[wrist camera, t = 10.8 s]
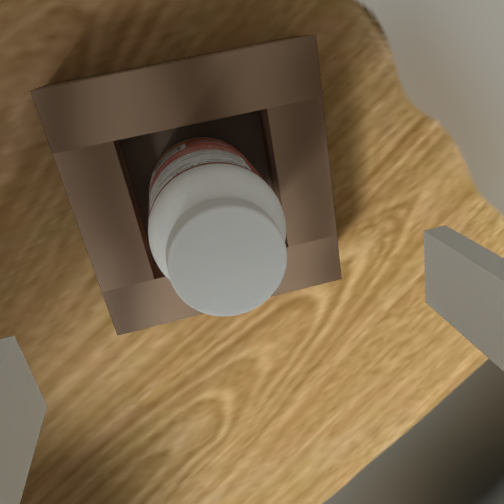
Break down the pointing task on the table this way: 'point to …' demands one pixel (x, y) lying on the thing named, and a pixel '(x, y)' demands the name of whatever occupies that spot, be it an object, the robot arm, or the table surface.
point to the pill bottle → (216, 227)
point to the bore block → (177, 130)
